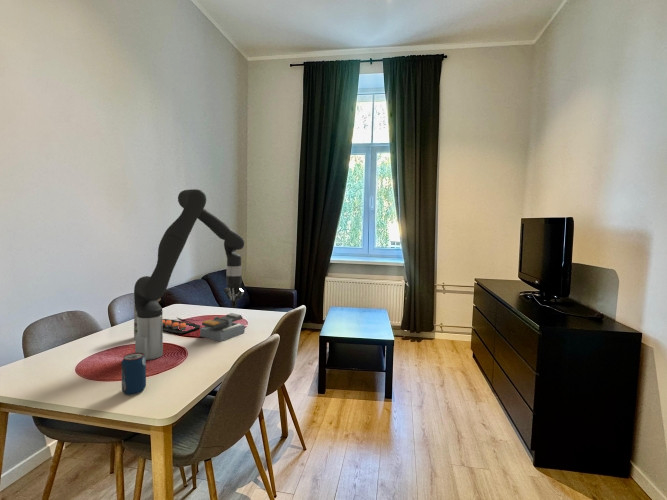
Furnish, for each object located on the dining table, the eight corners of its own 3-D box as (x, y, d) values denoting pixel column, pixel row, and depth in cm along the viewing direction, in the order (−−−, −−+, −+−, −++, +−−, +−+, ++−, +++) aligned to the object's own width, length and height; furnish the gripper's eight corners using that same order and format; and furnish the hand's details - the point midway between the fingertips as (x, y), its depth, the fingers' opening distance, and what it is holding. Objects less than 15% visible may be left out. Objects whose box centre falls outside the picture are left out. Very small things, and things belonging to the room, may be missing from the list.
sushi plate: (140, 328, 180) (140, 321, 179) (184, 315, 207) (184, 309, 207) (181, 337, 169) (181, 329, 168) (223, 321, 196) (223, 315, 196)
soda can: (150, 386, 117) (150, 352, 116) (137, 396, 110) (137, 360, 109) (130, 385, 117) (130, 351, 116) (116, 395, 110) (116, 359, 109)
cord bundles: (224, 331, 164) (224, 329, 164) (205, 327, 170) (205, 324, 170) (241, 325, 174) (241, 323, 174) (222, 321, 180) (222, 319, 180)
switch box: (220, 341, 162) (220, 324, 161) (200, 336, 169) (200, 319, 168) (244, 332, 176) (244, 317, 175) (224, 328, 183) (224, 313, 182)
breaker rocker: (213, 328, 162) (213, 323, 161) (202, 325, 165) (202, 321, 165) (242, 319, 178) (242, 315, 178) (231, 317, 182) (231, 312, 182)
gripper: (219, 274, 176) (219, 307, 178) (238, 276, 170) (238, 310, 172) (230, 272, 183) (230, 304, 184) (248, 274, 177) (248, 307, 178)
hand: (234, 307), depth 178 cm, fingers closed
